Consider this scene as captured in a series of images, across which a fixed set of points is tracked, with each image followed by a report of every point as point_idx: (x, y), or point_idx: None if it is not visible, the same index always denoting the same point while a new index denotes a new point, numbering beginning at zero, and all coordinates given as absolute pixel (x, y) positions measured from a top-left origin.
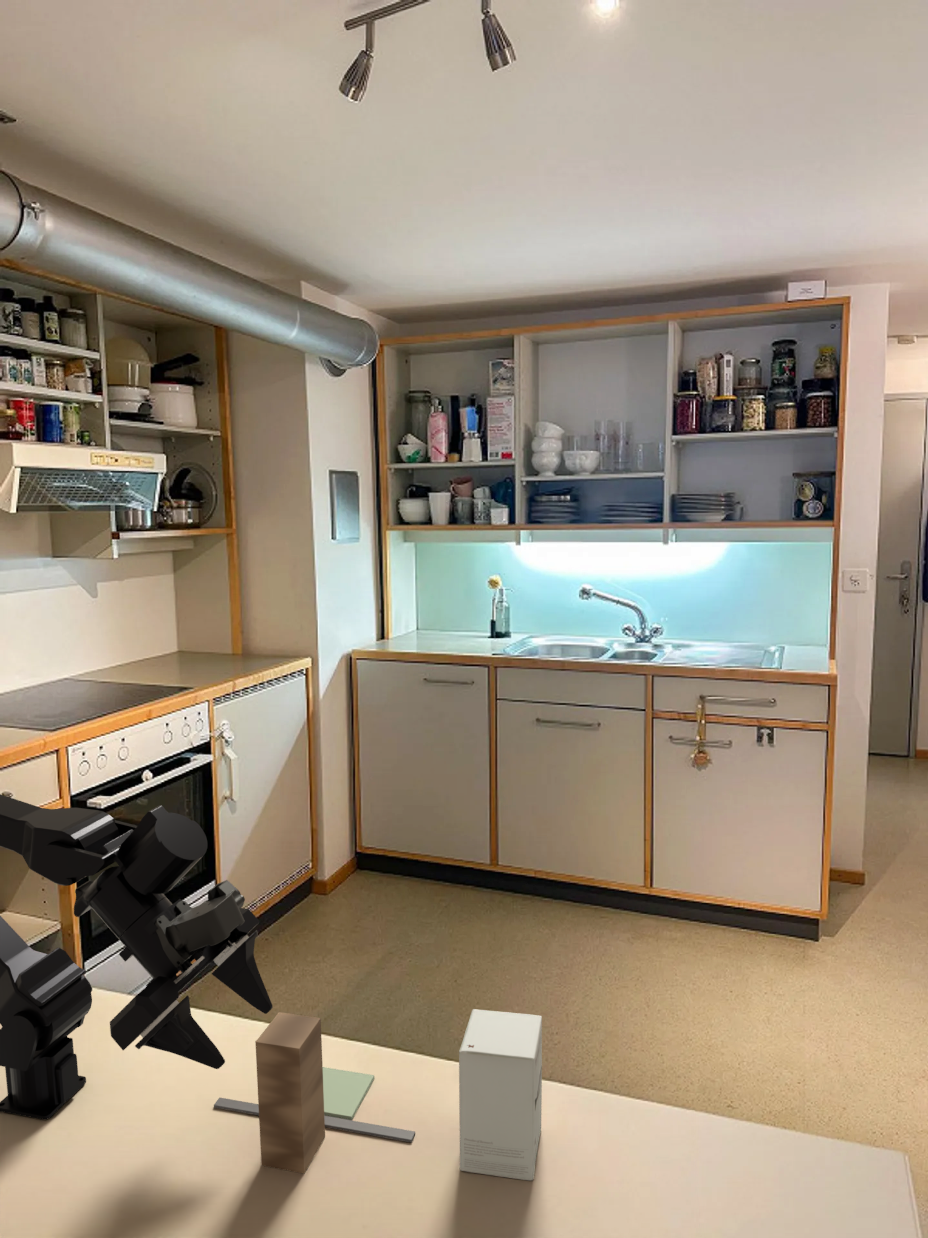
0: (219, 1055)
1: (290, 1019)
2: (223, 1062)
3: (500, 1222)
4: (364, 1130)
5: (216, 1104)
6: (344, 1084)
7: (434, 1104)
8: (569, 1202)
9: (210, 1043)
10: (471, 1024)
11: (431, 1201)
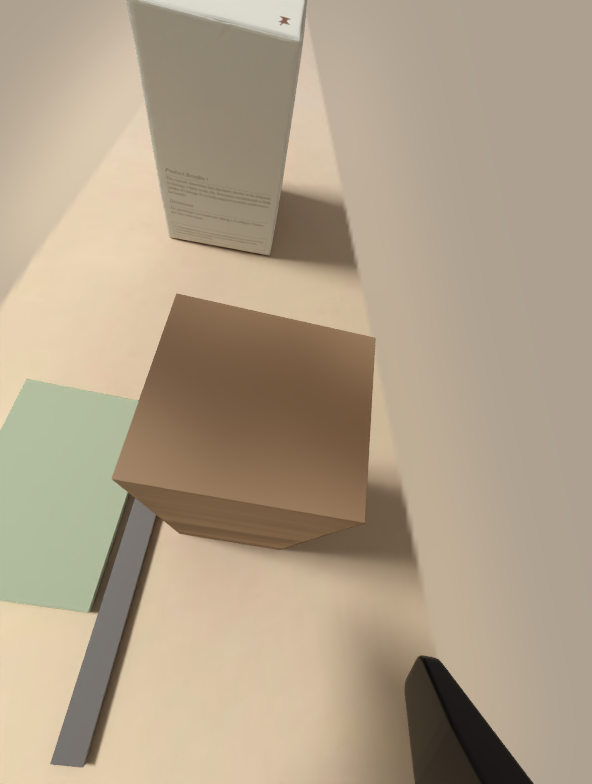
0: (452, 690)
1: (180, 408)
2: (435, 659)
3: (341, 224)
4: None
5: (81, 758)
6: (49, 433)
7: (123, 284)
8: (304, 166)
9: (498, 781)
10: (196, 7)
11: (321, 288)
